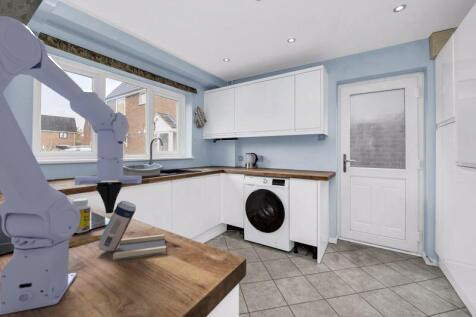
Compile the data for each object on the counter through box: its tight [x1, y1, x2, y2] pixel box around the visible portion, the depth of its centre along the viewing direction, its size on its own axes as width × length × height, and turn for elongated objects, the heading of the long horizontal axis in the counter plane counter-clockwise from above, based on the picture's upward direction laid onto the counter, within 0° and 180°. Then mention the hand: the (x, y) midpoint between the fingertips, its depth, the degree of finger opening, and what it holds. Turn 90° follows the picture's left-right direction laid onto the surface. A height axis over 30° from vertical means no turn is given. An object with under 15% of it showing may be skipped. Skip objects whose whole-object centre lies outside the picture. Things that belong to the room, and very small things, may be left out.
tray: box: [112, 234, 167, 262], centre depth 56 cm, size 10×12×2 cm
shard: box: [69, 234, 102, 248], centre depth 59 cm, size 11×8×2 cm
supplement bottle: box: [71, 198, 92, 234], centre depth 69 cm, size 6×6×10 cm
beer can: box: [97, 200, 137, 253], centre depth 55 cm, size 5×5×12 cm
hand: (109, 212), depth 55 cm, fingers closed
